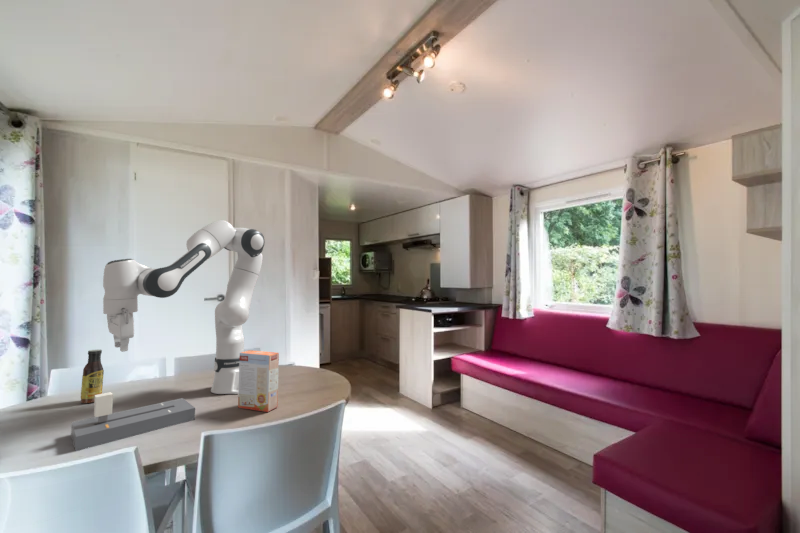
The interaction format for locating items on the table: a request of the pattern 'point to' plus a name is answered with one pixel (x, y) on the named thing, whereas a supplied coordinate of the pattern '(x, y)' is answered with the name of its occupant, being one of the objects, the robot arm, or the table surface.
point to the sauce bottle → (92, 377)
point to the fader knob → (103, 406)
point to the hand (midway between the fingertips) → (121, 349)
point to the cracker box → (258, 380)
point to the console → (130, 423)
